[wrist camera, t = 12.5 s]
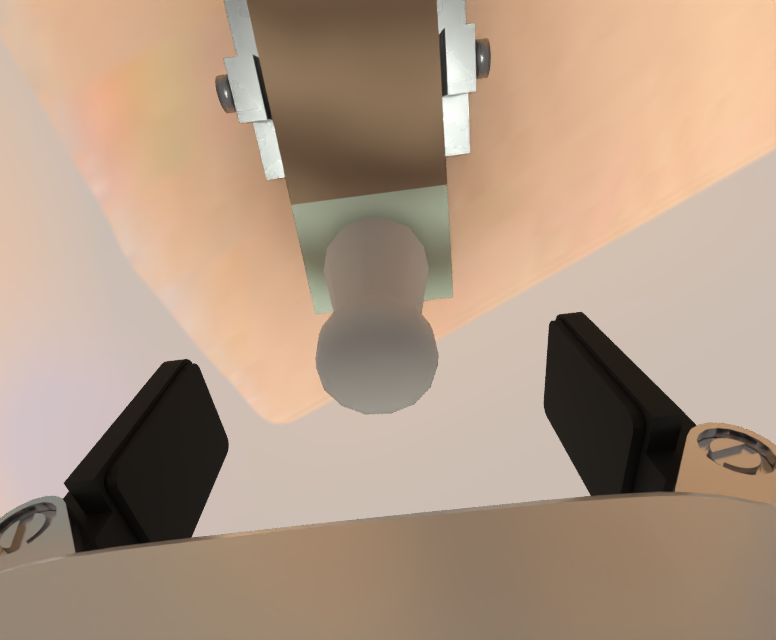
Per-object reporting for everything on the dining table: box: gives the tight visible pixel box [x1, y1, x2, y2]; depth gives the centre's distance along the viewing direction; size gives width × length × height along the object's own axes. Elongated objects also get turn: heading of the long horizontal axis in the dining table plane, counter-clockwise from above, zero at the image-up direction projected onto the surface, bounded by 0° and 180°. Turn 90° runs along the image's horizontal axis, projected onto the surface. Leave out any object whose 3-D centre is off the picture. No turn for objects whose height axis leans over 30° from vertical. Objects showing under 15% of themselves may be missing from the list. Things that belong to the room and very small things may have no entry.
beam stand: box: [215, 0, 491, 180], centre depth 24 cm, size 10×14×6 cm
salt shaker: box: [316, 217, 438, 414], centre depth 19 cm, size 6×6×13 cm
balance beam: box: [246, 0, 453, 314], centre depth 22 cm, size 26×9×2 cm, turn 7°
